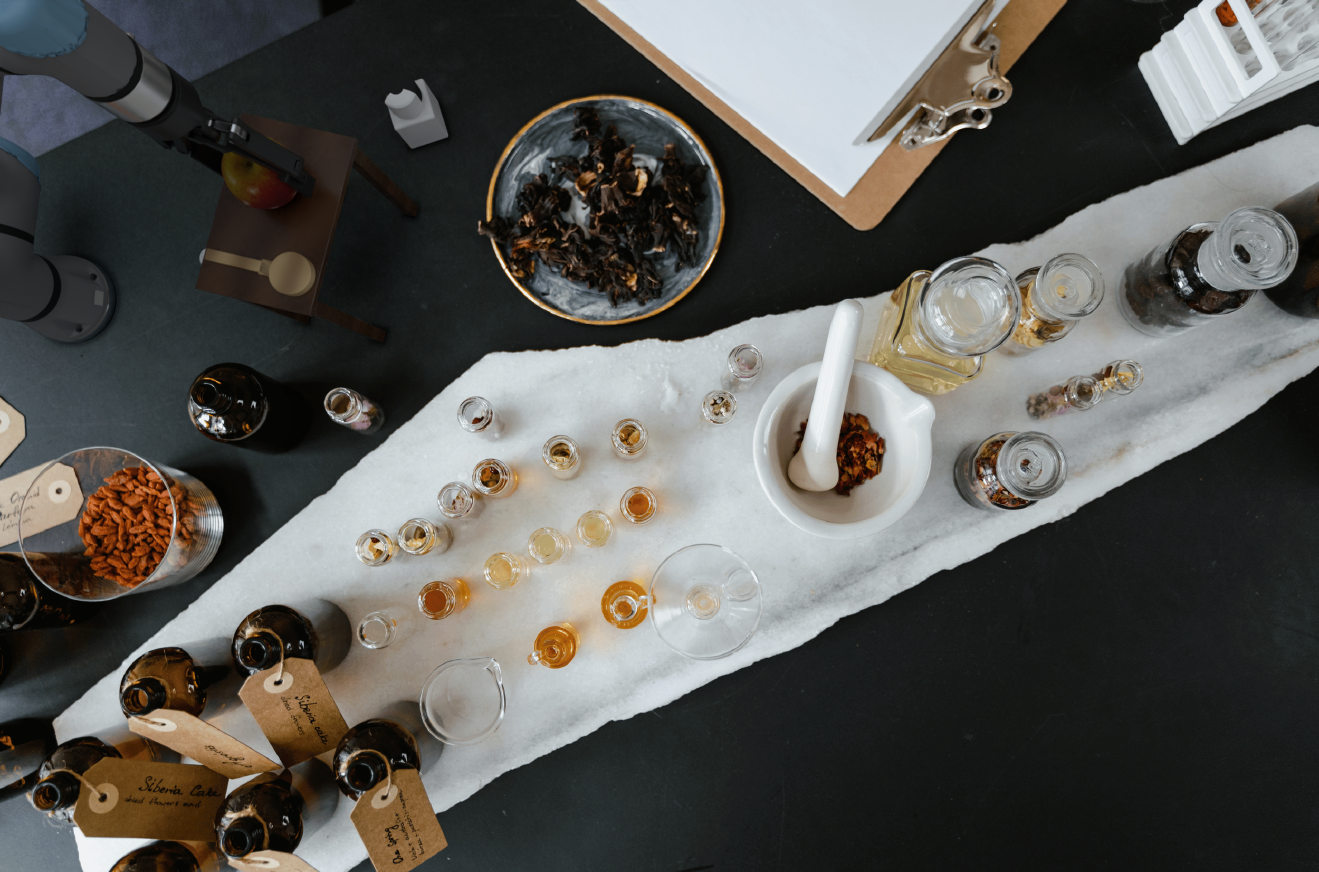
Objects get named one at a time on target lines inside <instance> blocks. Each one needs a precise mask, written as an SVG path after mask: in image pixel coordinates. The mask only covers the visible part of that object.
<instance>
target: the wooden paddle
mask: <svg viewBox="0 0 1319 872" xmlns="http://www.w3.org/2000/svg"><path fill="white" fill-rule="evenodd" d="M205 260H208V261H210V262H215V263H219V264H223V265H227V266H232V267H236V268H240V269H244V270H249V271H253V272H257V273H258V274H259V275H262V276H265V277H269V279H270V282H271V284H272V286H273V287H274V288H275V289H276V290H277V291H279V292H280V293H283V294H285V295H287V296H294V297H295V296H300V295H303V294H305V293H306V292H308V291H309V290H310V289H311V287H312V286H313V284H314V281H315V269H314V266H313V264H312V263H311V261H310V260H309V259H308V258H306V257H304V256H303V255H301V254H299V253H296V252H286V253H283V254H280V255H279V256H277V257H276V258H275V259H274V260H273V261H269V260H265V259H262V261H260V260H256V259H251V258H247V257H243V256H238V255H234V254H230V253H226V252H221V251H217V250H213V249H209V248H207V251H206V255H205Z"/></svg>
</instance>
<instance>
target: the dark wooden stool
mask: <svg viewBox="0 0 1319 872" xmlns="http://www.w3.org/2000/svg"><path fill="white" fill-rule="evenodd" d="M239 119H240V120H242V121H243V122H244V123H246V124H247V125H248V126H249V127H251V128H252V129H254V130H255V131H257V132H259V133H261V134H262V135H264V136H266V137H269V138H272V139H273V140H275V141H277V142H279V143H281V144H282V145H283V146H285V147H286V148H287V149H288V150H289V151H291V152H293V153H295V154H296V155H298V156H300V157H302V158H303V159H304V164H303V168H302V169H303V170H304V171H306V172H307V173H308V174H309V175H311V176H312V177H313V178H315V179H316V181H315V185H314V189H313V193H312V197H311V198H308V197H305V196H304V195H302V194H301V193H299V192H298V191H297V193H296V195H295V196H294V197H293V199H292V200H291V201H289V202H288V203H287V204H285V205H283V206H281V207H278V208H273V209H257V208H253V207H250V206H247V205H245V204H243V203H242V202H241V201H239V200H238V199H237V198H236V197H235V196H234V195H233V194H232V193H231V191H230V190H229V189H228V187H227V185H226V183H225V181H224V180H223V182H222V186H221V190H220V194H219V197H218V201H217V205H216V209H215V213H214V215H213V216H214V217H213V220H212V223H211V228H210V231H209V234H208V239H207V243H206V246H205V249H206V250H205V254H204V257H203V261H202V264H200V269H199V273H198V277H197V279H196V283H195V288H194V289H195V290H199V291H202V292H207V293H210V294H213V295H219V296H223V297H227V298H232V299H234V300H237V301H239V302H243V303H245V304H247V305H249V306H252V307H255V308H258V309H260V310H261V309H262V310H264V311H266V312H269V313H272V314H275V315H278V316H281V317H283V318H286V319H288V320H291V321H294V322H297V323H301V324H304V325H309V322H310V317H311V318H313V317H315V318H317V319H319V320H322V321H325V322H327V323H330V324H332V325H335V326H338V327H339V328H343V329H345V330H347V331H349V332H352V333H354V334H357V335H359V336H362V337H365V338H367V339H369V340H372V341H376V342H380V343H384V340H385V337H386V335H387V334H386V333H387V331H386V330H384V329H381V328H379V327H377V326H375V325H373V324H371V323H369V322H366V321H364V320H361V319H359V318H357V317H355V316H353V315H351V314H349V313H346V312H345V311H341V310H339V309H337V308H335V307H333V306H331V305H328V304H326V303H324V302H322V301H319V296H320V292H321V288H322V285H323V281H324V276H325V273H326V269H327V266H328V262H329V258H330V255H331V251H332V246H333V242H334V239H335V234H336V230H337V227H338V223H339V219H340V216H341V213H342V208H343V203H344V201H345V195H346V192H347V188H348V185H349V181H350V176H351V173H352V169H354V170H355V171H356V172H357V173H358V174H359V175H360V176H361V177H363V179H365V180H366V181H367V182H368V183H369V184H370V185H372V186H373V188H375V189H376V190H377V191H378V192H379V193H380V194H381V195H382V196H383V197H385V198H386V199H387V200H388V201H389V202H390V203H392V205H394V206H395V207H396V208H397V209H398V210H399V211H400V212H401V213H402V214H403V215H405V216H409V217H414V218H416V216H417V212H418V208H419V206H418V205H417V204H416V203H415V202H414V201H413V199H411V198H410V196H408V195H407V194H406V193H405V192H404V191H403V190H402V189H401V188H400V187H399V186H398V185H397V184H396V183H395V182H394V181H393V180H392V178H390V177H389V176H388V175H387V174H386V173H385V172H384V171H383V170H382V169H381V168H380V167H379V166H378V165H377V164H376V163H375V162H374V161H372V160H371V158H369V156H368V155H367V154H365V152H363V150H361V148H359V140H358V139H357V138H356V137H352V136H349V135H344V134H339V133H335V132H330V131H326V130H322V129H316V128H313V127H308V126H304V125H299V124H294V123H290V122H285V121H281V120H277V119H273V118H268V117H263V116H260V115H254V114H250V113H246V112H241V115H240V118H239ZM207 248H209V249H213V250H217V251H221V252H226V253H230V254H234V255H238V256H243V257H247V258H251V259H256V260H260V261H262V259H265V260H269V261H273V260H274V259H275V258H276V257H277V256H279V255H280V254H283V253H286V252H296V253H299V254H301V255H303V256H304V257H306V258H308V259H309V260H310V261H311V263H312V264H313V266H314V269H315V281H314V284H313V286H312V287H311V289H310V290H309V291H308V292H306V293H305V294H303V295H300V296H295V297H294V296H287V295H285V294H283V293H280V292H279V291H277V290H276V289H275V288H274V287H273V286H272V284H271V282H270V279H269V277H265V276H262V275H259V274H258V273H257V272H253V271H249V270H244V269H240V268H236V267H232V266H227V265H223V264H219V263H215V262H210V261H208V260H205V255H206V251H207Z"/></svg>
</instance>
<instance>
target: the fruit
mask: <svg viewBox="0 0 1319 872" xmlns="http://www.w3.org/2000/svg"><path fill="white" fill-rule="evenodd" d="M267 138H269V137H267ZM269 139H271V140H272V141H274V142H276V143H278V144H279V145H281V146H283V145H282V144H281V143H279V142H277V141H275V140H273V139H272V138H269ZM283 147H284V148H286V147H285V146H283ZM286 149H287V148H286ZM221 169H222V175H223V177H222V178H223V182H224V181H225V183H226V185H227V187H228V189H229V190H230V191H231V193H232V194H233V195H234V196H235V197H236V198H237V199H238V200H239V201H241V202H242V203H243V204H245V205H247V206H250V207H253V208H257V209H273V208H278V207H281V206H283V205H285V204H287V203H288V202H289V201H291V200H292V199H293V197H294V196H295V195H296V193H297V190H295V189H294V188H292V187H291V186H290V185H288V184H287V183H283V182H281V179H280V178H278V177H277V176H278V174H277V173H275V172H273V171H271V170H268V169H266V168H264V167H262V166H260V165H258V164H256V163H253V162H251V161H249V160H247V159H245V158H243V157H241V156H239V155H236V154H234V153H232V152H230V153H224V155H223V158H222V162H221Z"/></svg>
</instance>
